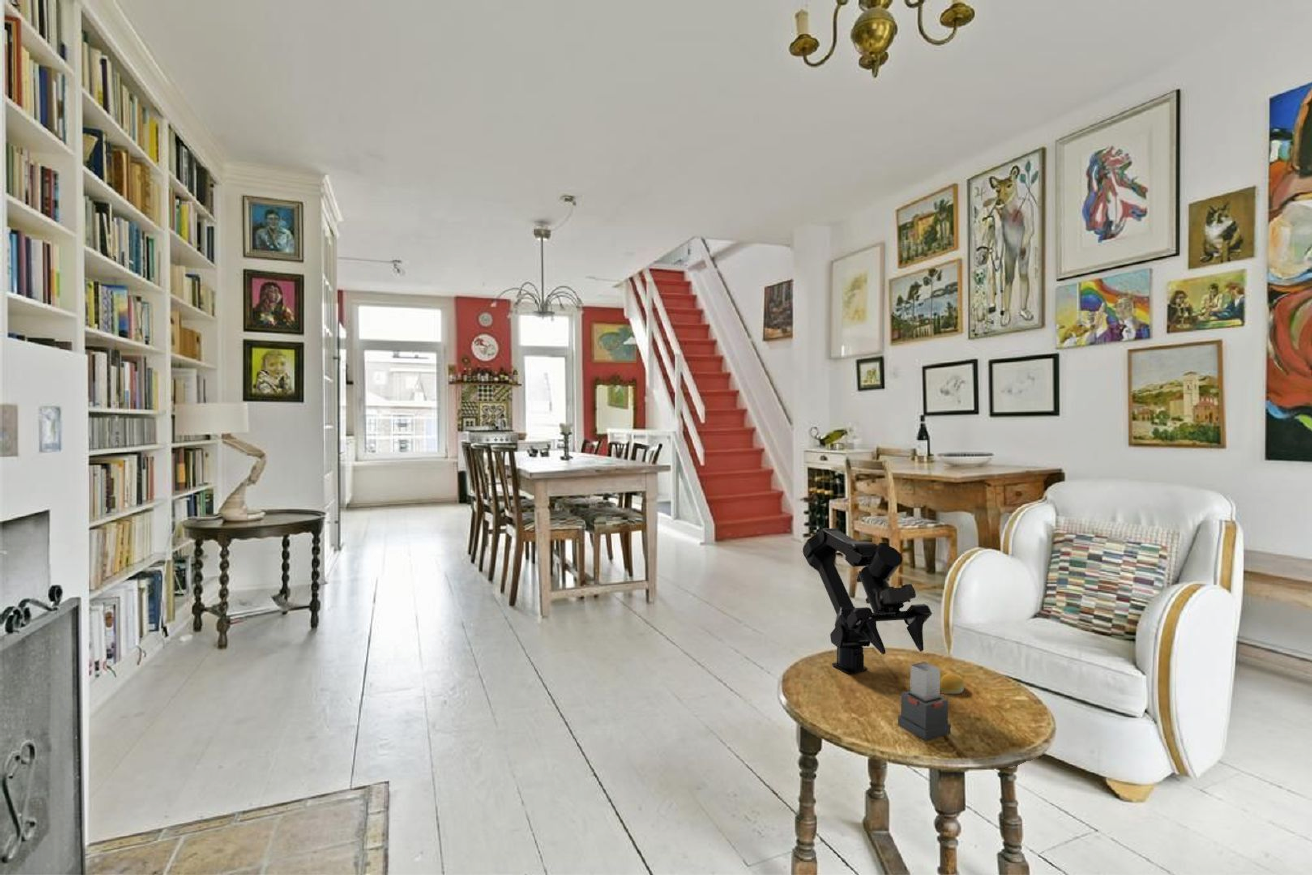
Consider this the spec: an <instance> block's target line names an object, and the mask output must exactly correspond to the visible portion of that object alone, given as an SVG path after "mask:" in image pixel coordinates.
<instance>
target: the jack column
mask: <svg viewBox="0 0 1312 875" xmlns="http://www.w3.org/2000/svg"><path fill="white" fill-rule="evenodd" d="M940 669H941V668H940V667H937V666H935V665H933V664H931V663H928V662H926V661H922V662H918V663H913V664H910V684H909V685H910V686H909V687H910V688H909V691H910V695H911V696H913V697H914V698H916V699H918V700H920V701H922V702H924V703H929V702H933V701H936V700H939V697H940V696H941V694H940V693H941V692H940Z"/></svg>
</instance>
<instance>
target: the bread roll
mask: <svg viewBox="0 0 1312 875" xmlns="http://www.w3.org/2000/svg"><path fill="white" fill-rule="evenodd" d="M964 688H965V683H964V680H963V679H962V678H961V677H960V676H959V675H957V674H954V673H947V672H946V671H945V670H943V669H942V668H940V693H942V694H945V695H957V694H958V695H959V694H961V693H963V692H964V690H965V689H964Z"/></svg>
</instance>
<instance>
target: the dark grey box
mask: <svg viewBox="0 0 1312 875" xmlns="http://www.w3.org/2000/svg"><path fill="white" fill-rule="evenodd" d="M900 698H901V699H900V700H901V702H900V703H901V704H900V715H898V716H897V726H899V727H901V728H902V729H904V730H906V731H907V732H910V733H911V734H912V735H915V736H916V737H918V738H919V739H922V740H923V741H925V742H926V741H930V740H932V739H933V740H934V739H936V738H940V737H943V736H946V735H950V734H951V732H952V731H951V730H952V728H951V726H952V724H951V723H950V722H949V699H948V698H946V697H943V696H941V695H940V697H939V700H936V701H933V702H929V703H924V702H922V701H920V700H918V699H916V698H914V697H913V696H911V695H910V690H908V691H904V692H901V696H900Z"/></svg>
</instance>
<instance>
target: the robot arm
mask: <svg viewBox="0 0 1312 875" xmlns="http://www.w3.org/2000/svg"><path fill="white" fill-rule="evenodd" d="M837 552H839V553H841V554H843V555H844V558H845V559H844V560H845V562H847V563H848V564H849V565H850V566H851V567H853V568H858V567H859V568H860V567H863V568H862V569H861V570H859V571H858V575H857V577H856V582H857V583H861V584H862V586H863V589H864V591H865V594H866V598H865V603H866V604H870V607H871V608H870V607H867V606H866V607H855V606H854V604H853V601H852V599H851V597H850V595H849V593H848V590H847V588H846V586H845V584H844V582H843V578H842V577H841V575H840V573H839V571H838V568H837V567H836V565H835V561H836V557H837ZM802 554H803V556H804V558H805V560H806V561H807V564H808V565H809V566H810V567H812V568H813V569H814V570H816V572H818V574H819V576H820V578H821V581H822V583H823V586H824V588H825V590H826V593H827V595H828V597H829V600H830V602H831V604H832V607H833V609H834V612H835V614H836V617H835V622H834V629H833V630H832V631H831V633H830V635H829V636H830V642H831V644H833V645H834V646H835V647H836V662H832V663H831V666H832V667H834V668H836V669H838V670H840V671H842V672H844V673H846V674H848V675H851V674H855V673H861V672H866V671H868V667H866V666H864V664H865V663H864V662H865V660H864V659H865V658H864V657H865V654H864V647H867V648H868V647H870V646H871V645H872V646H873V647H874V648H875V649H876V650H878V652H880V654H881V655H885V654H886V648H885V645H884V642H883V640H882V638H881V635H880V633H879V631H878V626H877V622H889V621H891V622H892V621H904V623H905V624H906V630H907V632H908V634H909V636H910V637H911V639H912V641H913V643H914V644H915V646H916V648H917V650H919V652H920V653H923V651H924V647H925V646H924V633H923V632H924V631H923V629H924V624H925V623H926V622H927V620H929V618H930V617H931V616H932V615H933V613H932V610H931V608H930V606H929V605H927V604H925V603H923V604H922V603H921V604H911V605H910V606H909V607H908V608H907V610H901V609H903V608H904V607H905V604H904V603H907V602H908V603H911V601H912V599H915V598H916V596H917V594H916V589H915V588H914V586H913V584H912V583H905V584H902V585H901V587H894V586H891V585H890V584H889V582H888V579H891V577H892V576H893V575H894V573H895V572H896V571H897V569H898V568H899V567H900V566H901V564H902V563H903V555H902V554H901V552H899V551H898V550H897V549H896V548H894V547H892V546H890V545H889V543H888V542H885V541H884V542H879V543H878V544H876V543H875V542H871V541H863V540H861V541H860V540H856V539H855V538H852V537H851V536H849V535H847V534H845V533H843V532H841V531H840V530H839V529H837V528H833V527H831V528H822V529H819V530H818V532H817V533H816V534H814V535H813V536H811V537H809V538H807V540H806V542H805V543H804V545H803V547H802ZM870 644H871V645H870Z"/></svg>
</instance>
